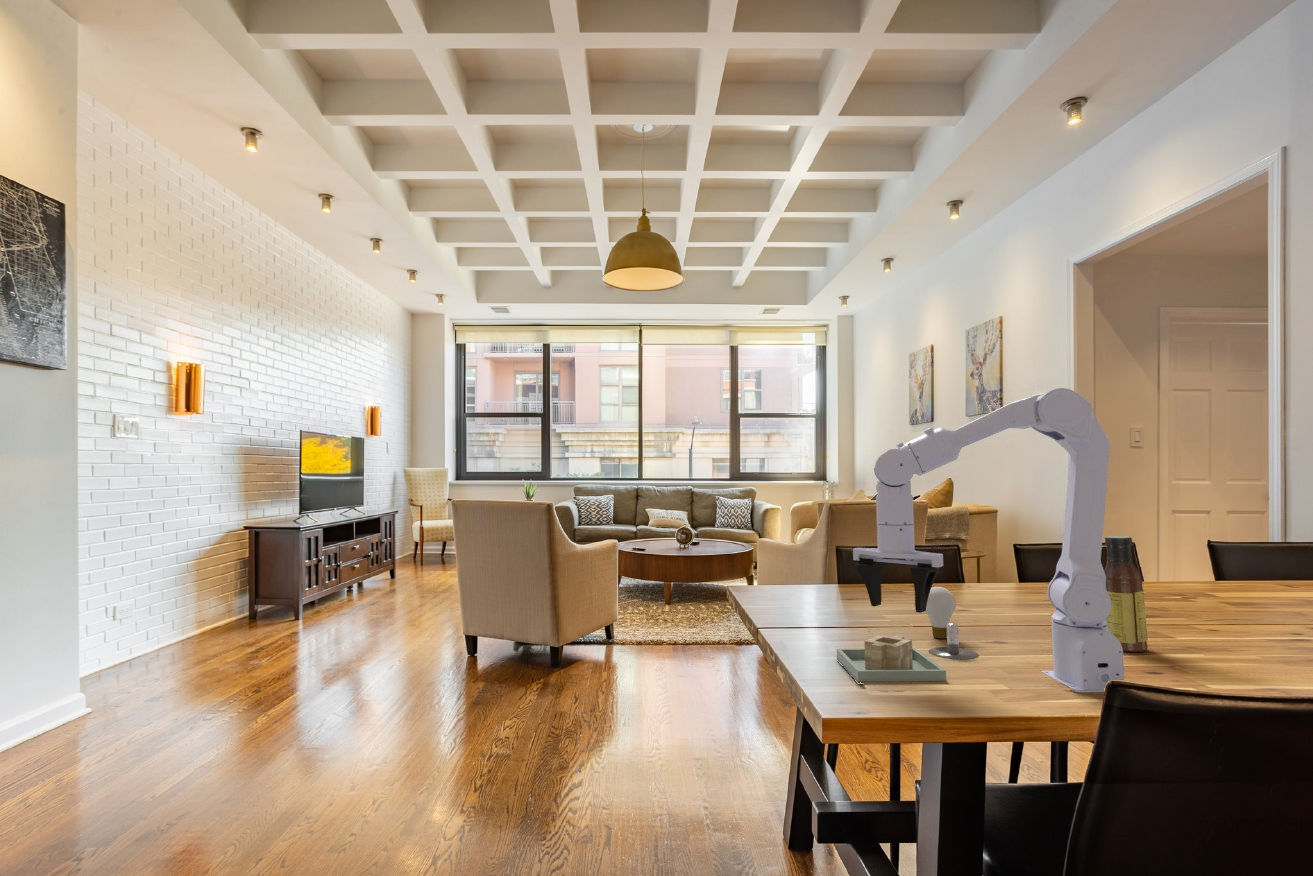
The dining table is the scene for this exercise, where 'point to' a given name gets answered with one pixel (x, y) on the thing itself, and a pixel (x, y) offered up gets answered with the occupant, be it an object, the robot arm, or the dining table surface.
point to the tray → (920, 672)
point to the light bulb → (940, 610)
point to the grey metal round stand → (953, 646)
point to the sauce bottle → (1125, 595)
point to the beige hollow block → (888, 653)
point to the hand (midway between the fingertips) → (898, 608)
